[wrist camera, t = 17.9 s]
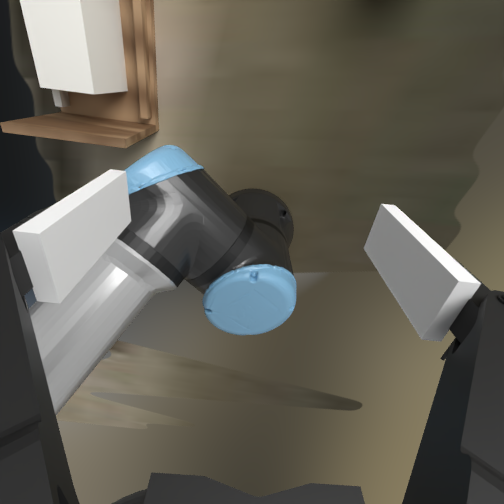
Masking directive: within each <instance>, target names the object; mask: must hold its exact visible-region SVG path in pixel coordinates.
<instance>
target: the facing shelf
mask: <svg viewBox="0 0 504 504" xmlns="http://www.w3.org/2000/svg"><path fill="white" fill-rule="evenodd" d="M119 6H120V17H121V27H122V37H123V48H124V58H125V68H126V79H127V89H128V91H124V92H114V93H104V94H87V93H79V92H72V91H64V90H56V89H52V93H53V98H54V103H55V106H58V107H60V108H61V112H58V113H53V114H47V115H41V116H35V117H30V118H24V119H18V120H12V121H7V122H1V123H0V124H1V127H2V131H3V132H7V133H15V134H22V135H29V136H37V137H45V138H52V139H60V140H67V141H75V142H82V143H90V144H98V145H105V146H113V147H120V148H127V147H129V146H131V145H133V144H135V143H136V142H138V141H140V140H142V139H144V138H146V137H148V136H149V135H151V134H153V133H155V132H157V131H159V123H158V98H157V74H156V50H155V25H154V1H153V0H119Z"/></svg>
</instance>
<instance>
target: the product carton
mask: <svg viewBox="0 0 504 504" xmlns="http://www.w3.org/2000/svg"><path fill="white" fill-rule="evenodd" d="M20 3H21V8H22V12H23V16H24V20H25V25H26V29H27V33H28V37H29V42H30V46H31V50H32V54H33V59H34V63H35V67H36V71H37V76H38V80H39V84H40V87H41V88H49V89H56V90H64V91H72V92H79V93H87V94H104V93H114V92H124V91H128V89H127V79H126V68H125V58H124V48H123V37H122V27H121V17H120V6H119V0H20Z"/></svg>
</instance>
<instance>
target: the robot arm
mask: <svg viewBox="0 0 504 504" xmlns="http://www.w3.org/2000/svg"><path fill="white" fill-rule="evenodd" d="M293 231H294V227H293V221H292V217H291V214H290V211H289V209H288V207H287V206H286V205H285V203H284V202H283V201H282V200H281V199H280V198H278V197H277V196H276V195H274V194H272V193H270V192H268V191H265V190H260V189H245V190H240V191H237V192H235V193H233V194H231V195H228V194H227V193H226V192H225V191H224V190H223V189H222V188H221V187H220V186H219V185H218V184H217V183H216V182H215V181H214V180H213V179H212V178H211V177H210V176H209V175H208V173H207V172H206V171H205V170H204V167H203V166H201V165H198V164H197V163H196V162H195V161H194V160H193V159H192V158H191V157H190V156H188V155H187V154H186V153H185V152H184V151H183V150H182V149H181V148H179V147H177V146H174V145H165V146H162V147H159V148H157V149H155V150H153V151H151V152H150V153H148V154H147V155H145V156H144V157H142V158H140V159H139V160H138V161H136V162H135V163H133V164H132V165H131V166H129V167H128V168H127V169H125V170H124V171H120V170H112V169H110V170H108V171H107V172H105V173H104V174H102V175H100V176H99V177H97V178H96V179H94V180H92V181H91V182H89V183H88V184H86V185H84V186H83V187H81V188H80V189H78V190H76V191H75V192H73V193H72V194H70V195H69V196H67V197H65V198H64V199H62V200H61V201H59V202H57V203H56V204H54V205H53V206H51V207H47V208H44V209H42V210H38V211H36V212H34V213H33V214H31V215H29V216H28V217H27V218H24V219H23V220H21V221H20V222H19V223H16V224H15V225H13V226H11V227H10V228H8V229H6V230H5V231H3V232H1V233H0V504H79V501H78V498H77V495H76V492H75V489H74V486H73V482H72V479H71V474H70V470H69V466H68V462H67V458H66V454H65V451H64V447H63V443H62V439H61V435H60V431H59V427H58V423H57V419H56V415H57V414H58V412H59V411H60V410H61V409H62V407H63V406H64V405H65V404H66V402H67V401H68V400H69V399H70V398H71V396H72V395H73V394H74V393H75V391H76V390H77V389H78V388H79V387H80V385H81V384H82V383H83V382H84V380H85V379H86V378H87V377H88V375H89V374H90V373H91V372H92V371H93V369H94V368H95V367H96V366H97V364H98V363H99V362H100V361H101V359H102V358H103V357H104V356H105V355H106V353H107V352H108V351H109V350H110V348H111V347H112V346H113V345H114V344H115V342H116V341H117V340H118V338H119V337H120V336H121V335H122V334H123V332H124V331H125V330H126V329H127V328H128V326H129V325H130V324H131V323H132V321H133V320H134V319H135V318H136V316H137V315H138V314H139V313H140V312H141V310H142V309H143V308H144V307H145V305H146V304H147V303H148V302H149V301H150V299H151V298H152V297H153V296H154V295H155V294H157V293H159V292H165V291H171V290H175V289H176V288H177V287H178V286H179V284H180V283H181V282H182V280H183V279H185V280H186V281H188V282H189V283H190V284H191V285H193V286H194V287H195V288H197V289H198V290H199V291H200V292H201V293H203V294H204V297H203V306H204V309H205V315H206V317H207V318H208V320H209V321H210V322H211V323H212V324H213V325H214V326H215V327H217V328H218V329H220V330H222V331H225V332H227V333H231V334H235V335H248V334H252V335H256V334H261V333H265V332H267V331H270V330H272V329H274V328H276V327H278V326H279V325H281V324H282V323H284V322H285V321H286V320H287V319H288V317H289V316H290V315H291V313H292V312H293V310H294V307H295V303H296V280H295V278H294V275H293V270H292V266H291V261H290V256H289V251H288V248H289V246H290V244H291V241H292V238H293ZM364 250H365V251H366V253H367V255H368V256H369V258H370V259H371V261H372V262H373V264H374V266H375V267H376V269H377V270H378V272H379V273H380V275H381V277H382V278H383V280H384V281H385V283H386V284H387V286H388V287H389V289H390V291H391V292H392V294H393V295H394V297H395V299H396V300H397V302H398V303H399V305H400V306H401V308H402V310H403V311H404V313H405V314H406V316H407V317H408V319H409V320H410V322H411V324H412V325H413V327H414V328H415V330H416V331H417V333H418V335H419V336H420V338H421V339H422V340H432V341H442V339H443V338H444V336H445V335H446V334H447V332H448V331H449V329H450V331H451V332H452V333H453V334H454V336H455V337H456V338H455V339H454V341H453V342H452V343H451V345H450V346H449V347H448V349H447V350H446V352H445V353H444V354H443V356H442V357H441V359H442V360H444V359H446V361H445V364H444V368H443V371H442V374H441V378H440V381H439V384H438V387H437V390H436V394H435V397H434V401H433V404H432V407H431V410H430V414H429V417H428V420H427V423H426V427H425V430H424V433H423V437H422V440H421V443H420V447H419V450H418V453H417V456H416V460H415V463H414V466H413V470H412V473H411V476H410V480H409V483H408V486H407V490H406V493H405V496H404V500H403V502H402V504H504V292H501V291H496V290H494V291H490V290H489V289H488V288H487V287H486V286H485V285H484V284H483V283H482V282H480V281H479V280H478V279H477V278H476V277H475V276H474V275H473V274H471V273H470V272H469V271H468V270H467V269H466V268H464V266H463V265H462V264H461V263H459V262H458V261H457V260H456V259H454V258H453V257H451V256H450V255H449V254H448V253H447V252H446V251H445V250H444V249H442V248H441V247H440V246H439V245H438V244H437V243H436V242H435V241H434V240H433V239H431V238H430V237H429V236H428V235H427V234H426V233H425V232H424V231H423V230H422V229H420V228H419V227H418V226H417V225H416V224H415V223H414V222H413V221H412V220H411V219H409V218H408V217H407V216H406V215H405V214H404V213H403V212H402V211H401V210H400V209H398V208H397V207H396V206H395V205H387V204H381V206H380V208H379V211H378V213H377V216H376V218H375V221H374V223H373V226H372V229H371V231H370V234H369V236H368V239H367V241H366V244H365V247H364ZM32 288H33V290H34V293H35V296H36V299H37V301H36V302H35V303H34V304H33V305H32V306H31V307H30V308H29V309H28V305H27V302H26V299H25V297H24V295H25V294H26V293H27V292H29V291H30V289H32ZM112 504H365V503H364V499H363V495H362V492H361V487H359V486H344V485H329V484H314V483H310V484H306V485H303V486H300V487H296V488H292V489H289V490H285V491H281V492H278V493H274V494H271V495H267V496H263V497H255V496H252V495H250V494H247V493H245V492H242V491H240V490H237V489H235V488H232V487H230V486H227V485H225V484H223V483H220V482H218V481H215V480H212V479H210V478H208V477H205V476H195V475H180V474H165V473H164V474H163V473H151V476H150V480H149V484H148V488H147V489H145V490H142V491H138V492H136V493H133V494H131V495H128V496H126V497H123V498H122V499H120V500H118V501H116V502H114V503H112Z"/></svg>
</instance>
